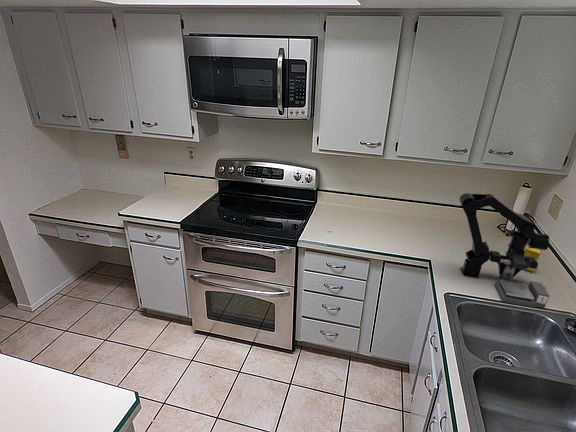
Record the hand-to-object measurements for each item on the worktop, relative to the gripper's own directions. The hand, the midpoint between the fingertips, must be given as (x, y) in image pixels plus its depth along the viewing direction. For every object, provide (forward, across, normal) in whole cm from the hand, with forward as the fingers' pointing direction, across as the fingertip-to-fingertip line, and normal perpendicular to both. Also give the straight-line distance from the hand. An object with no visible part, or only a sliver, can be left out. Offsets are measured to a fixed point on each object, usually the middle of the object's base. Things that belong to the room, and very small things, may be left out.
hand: (506, 275), depth 160 cm
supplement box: (+2, +13, +14) cm, 19 cm away
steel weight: (+2, 0, 0) cm, 2 cm away
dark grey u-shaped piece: (+2, +2, -13) cm, 13 cm away
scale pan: (-1, 0, -13) cm, 13 cm away
